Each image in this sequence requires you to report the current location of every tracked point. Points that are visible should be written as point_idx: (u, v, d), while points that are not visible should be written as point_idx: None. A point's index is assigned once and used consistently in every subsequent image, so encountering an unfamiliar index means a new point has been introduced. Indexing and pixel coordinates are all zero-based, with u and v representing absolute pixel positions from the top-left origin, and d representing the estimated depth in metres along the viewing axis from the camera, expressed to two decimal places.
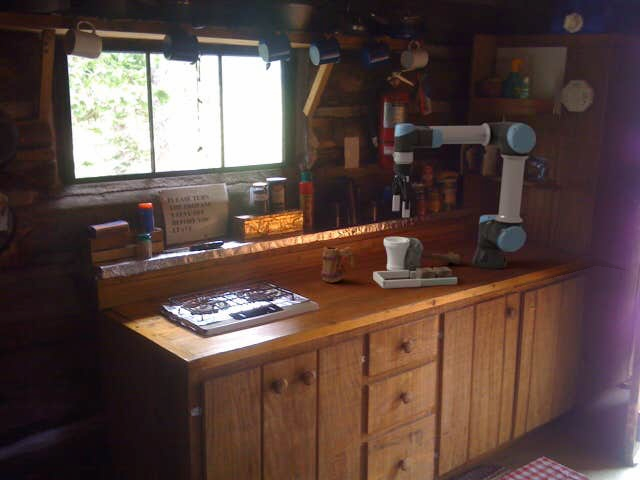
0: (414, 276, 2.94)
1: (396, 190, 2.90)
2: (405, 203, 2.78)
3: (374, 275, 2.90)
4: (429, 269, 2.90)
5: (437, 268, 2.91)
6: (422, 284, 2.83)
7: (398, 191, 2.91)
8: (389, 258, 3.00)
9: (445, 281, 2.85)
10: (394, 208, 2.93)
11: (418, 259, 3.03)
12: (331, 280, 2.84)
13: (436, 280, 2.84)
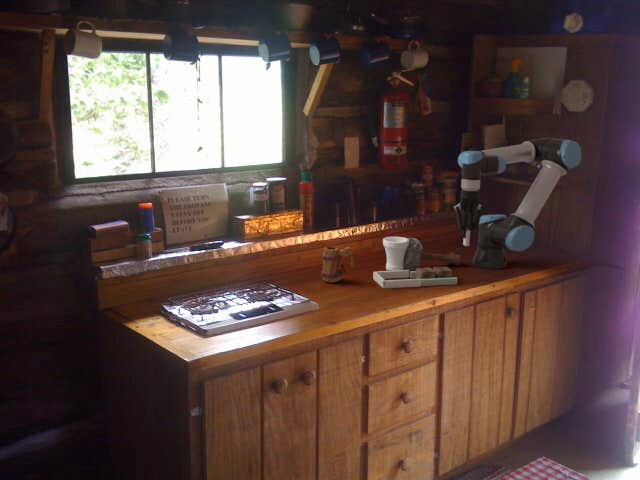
0: (414, 276, 2.94)
1: (468, 221, 2.89)
2: None
3: (374, 275, 2.90)
4: (429, 269, 2.90)
5: (437, 268, 2.92)
6: (422, 284, 2.83)
7: (469, 223, 2.88)
8: (388, 258, 3.01)
9: (445, 281, 2.85)
10: None
11: (417, 259, 3.03)
12: (331, 280, 2.84)
13: (436, 280, 2.84)
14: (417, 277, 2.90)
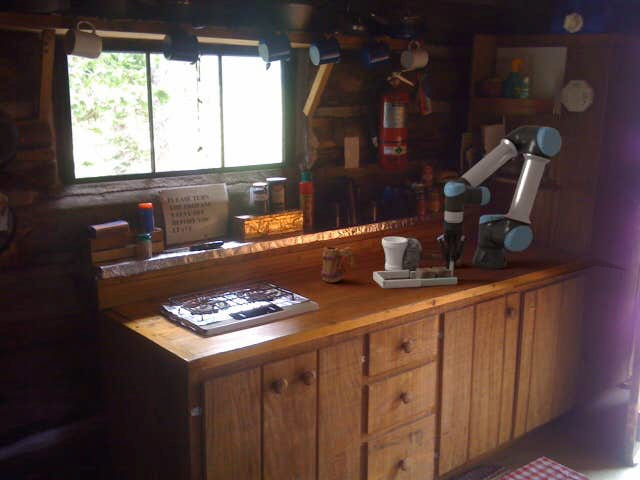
0: (414, 276, 2.94)
1: (452, 252, 2.91)
2: None
3: (374, 275, 2.90)
4: (429, 269, 2.90)
5: (436, 268, 2.91)
6: (422, 284, 2.83)
7: (453, 254, 2.90)
8: (387, 258, 3.01)
9: (445, 281, 2.85)
10: None
11: (416, 260, 3.02)
12: (331, 280, 2.84)
13: (436, 280, 2.84)
14: (417, 277, 2.90)
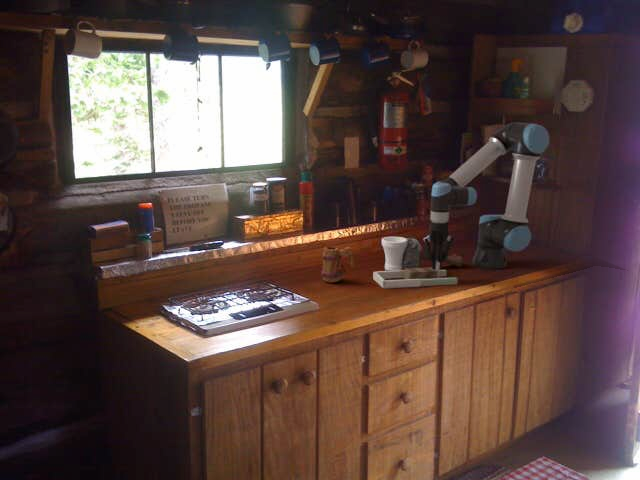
0: None
1: (438, 253, 2.89)
2: None
3: (374, 275, 2.90)
4: (418, 269, 2.89)
5: (422, 268, 2.90)
6: (422, 284, 2.83)
7: (439, 255, 2.88)
8: (386, 258, 3.01)
9: (445, 281, 2.85)
10: None
11: (416, 260, 3.02)
12: (331, 280, 2.84)
13: (436, 280, 2.84)
14: (406, 277, 2.89)
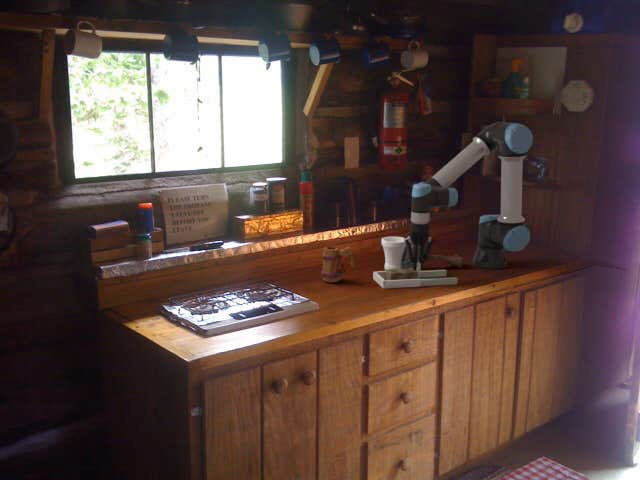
0: None
1: (419, 254, 2.87)
2: None
3: (374, 275, 2.90)
4: (399, 270, 2.87)
5: (403, 269, 2.88)
6: (422, 284, 2.83)
7: (420, 256, 2.87)
8: (386, 258, 3.01)
9: (445, 281, 2.85)
10: None
11: None
12: (331, 280, 2.84)
13: (436, 280, 2.84)
14: (387, 278, 2.87)
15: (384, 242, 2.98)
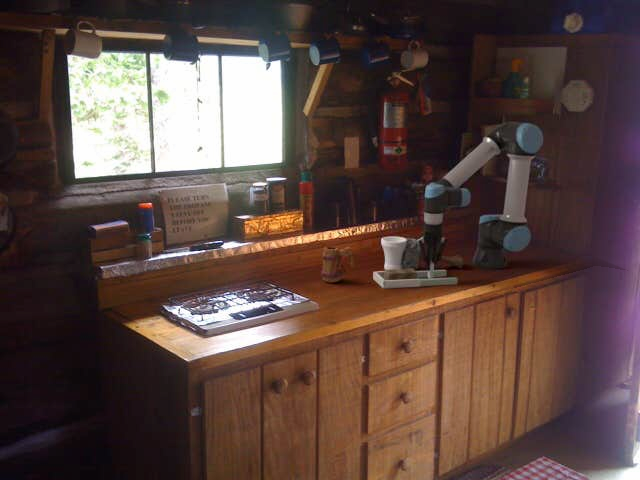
0: None
1: (432, 254, 2.89)
2: None
3: (374, 275, 2.90)
4: (397, 271, 2.87)
5: (402, 270, 2.88)
6: (422, 284, 2.83)
7: (433, 256, 2.88)
8: (386, 257, 3.01)
9: (445, 281, 2.85)
10: None
11: (416, 260, 3.02)
12: (331, 280, 2.84)
13: (436, 280, 2.84)
14: (385, 279, 2.87)
15: (384, 242, 2.98)
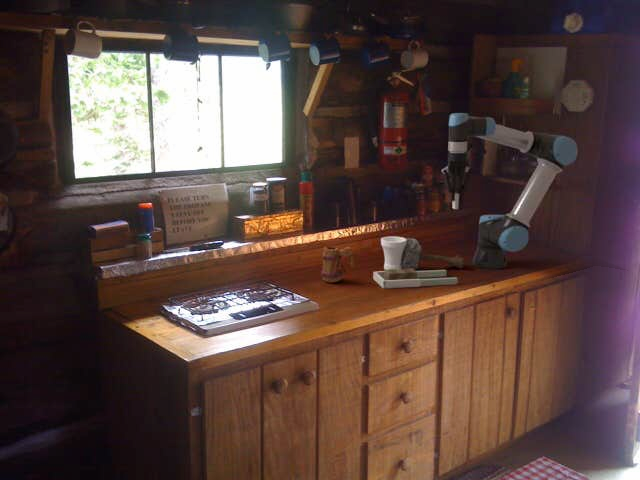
0: None
1: (457, 184, 2.88)
2: None
3: (374, 275, 2.90)
4: (397, 271, 2.87)
5: (402, 270, 2.88)
6: (422, 284, 2.83)
7: (458, 186, 2.87)
8: (385, 257, 3.01)
9: (445, 281, 2.85)
10: None
11: (415, 260, 3.01)
12: (331, 280, 2.84)
13: (436, 280, 2.84)
14: (385, 279, 2.87)
15: (383, 242, 2.98)
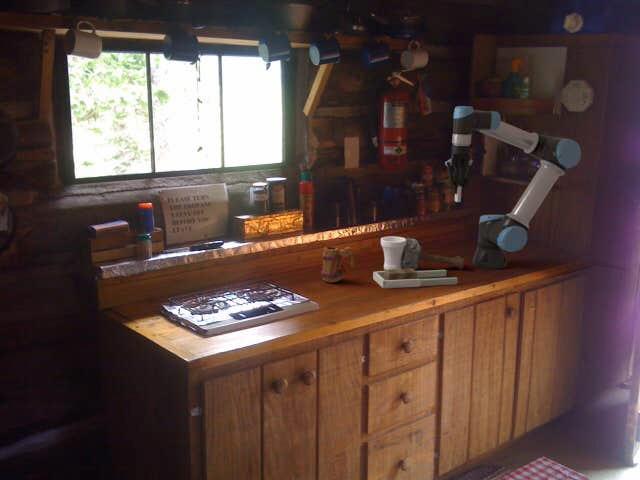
0: None
1: (460, 177, 2.89)
2: None
3: (374, 275, 2.90)
4: (397, 271, 2.87)
5: (402, 270, 2.88)
6: (422, 284, 2.83)
7: (461, 179, 2.88)
8: (385, 257, 3.02)
9: (445, 281, 2.85)
10: None
11: (415, 260, 3.01)
12: (331, 280, 2.84)
13: (436, 280, 2.84)
14: (385, 279, 2.87)
15: (383, 242, 2.98)
